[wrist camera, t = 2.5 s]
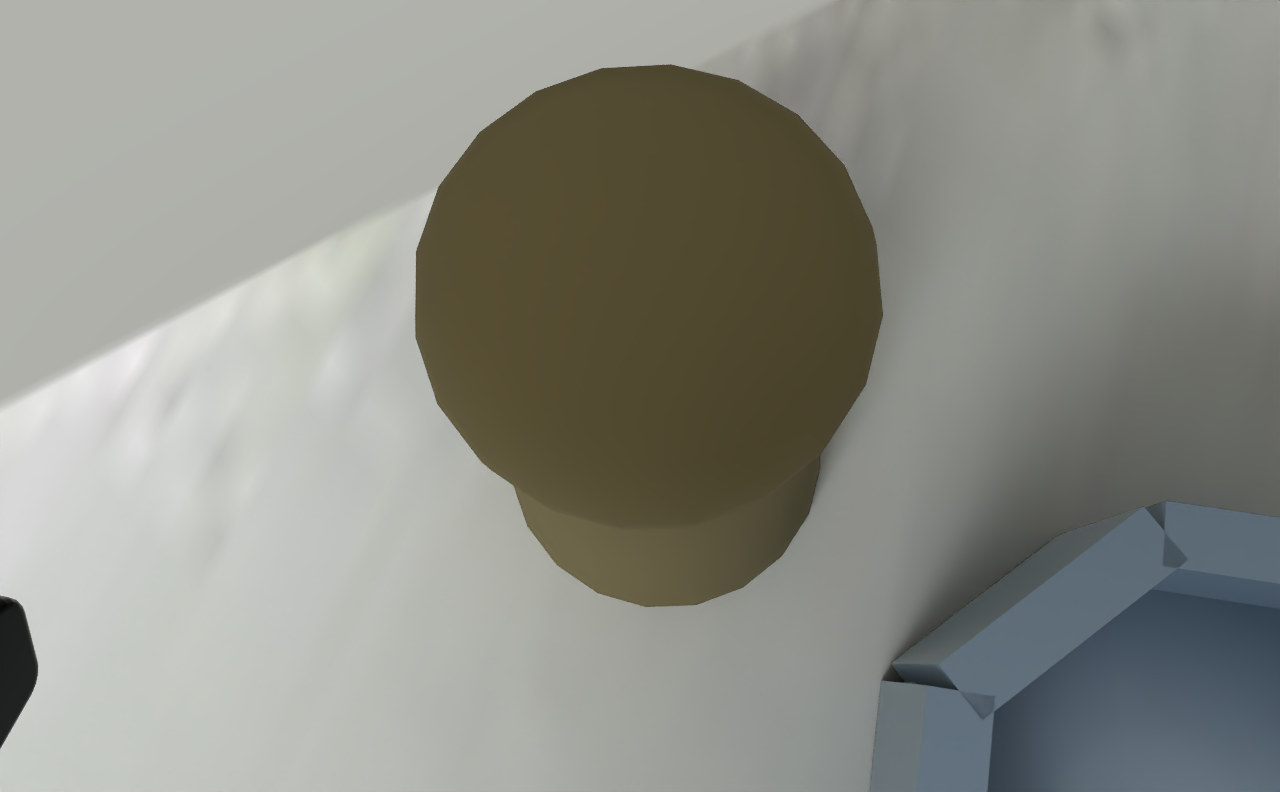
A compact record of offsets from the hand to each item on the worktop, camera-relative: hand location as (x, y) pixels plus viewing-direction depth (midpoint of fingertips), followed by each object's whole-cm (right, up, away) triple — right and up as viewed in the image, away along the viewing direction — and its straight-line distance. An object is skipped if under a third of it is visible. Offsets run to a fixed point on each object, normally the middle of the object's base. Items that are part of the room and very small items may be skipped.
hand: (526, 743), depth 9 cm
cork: (+1, +2, +12) cm, 13 cm away
